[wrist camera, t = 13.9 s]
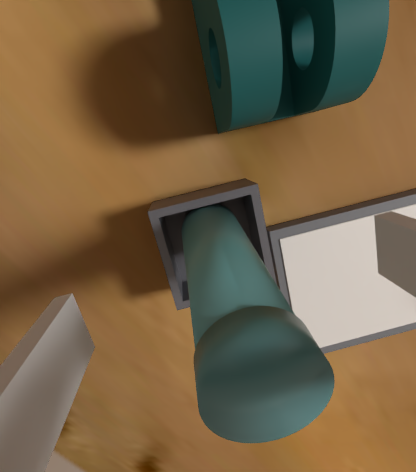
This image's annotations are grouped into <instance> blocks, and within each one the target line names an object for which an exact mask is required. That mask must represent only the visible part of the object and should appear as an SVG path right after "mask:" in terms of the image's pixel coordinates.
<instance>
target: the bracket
mask: <svg viewBox="0 0 416 472" xmlns="http://www.w3.org/2000/svg"><path fill="white" fill-rule="evenodd" d="M192 5H193V10H194V15H195V20H196V25H197V30H198V35H199V40H200V45H201V50H202V55H203V61H204V66H205V71H206V76H207V81H208V86H209V91H210V96H211V101H212V106H213V111H214V116H215V121H216V126H217V131H218V133H223V132H227V131H232V130H236V129H240V128H245V127H249V126H254V125H258V124H262V123H267V122H271V121H276V120H280V119H284V118H289V117H293V116H297V115H302V114H306V113H311V112H315V111H319V110H322V109H326V108H330V107H333V106H337V105H341V104H344V103H348V102H351V101H354V100H356V99H357V98H359V97H360V96H361V95H362V94H363V93H364V92H365V91H366V90H367V88H368V87H369V85H370V84H371V82H372V80H373V78H374V76H375V74H376V72H377V70H378V67H379V65H380V62H381V59H382V55H383V51H384V47H385V43H386V37H387V30H388V21H389V0H192Z"/></svg>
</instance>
